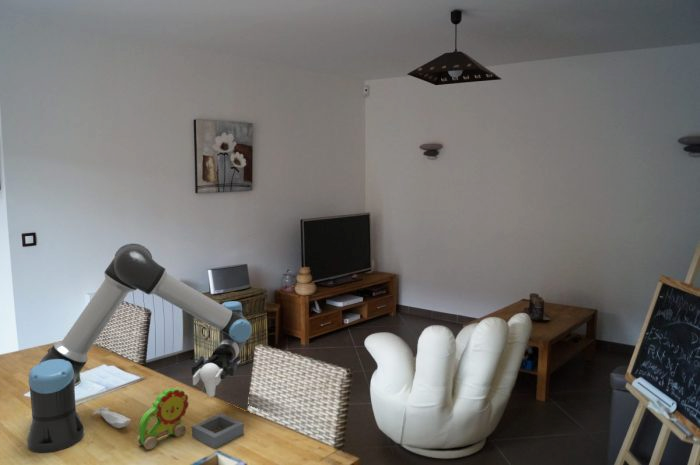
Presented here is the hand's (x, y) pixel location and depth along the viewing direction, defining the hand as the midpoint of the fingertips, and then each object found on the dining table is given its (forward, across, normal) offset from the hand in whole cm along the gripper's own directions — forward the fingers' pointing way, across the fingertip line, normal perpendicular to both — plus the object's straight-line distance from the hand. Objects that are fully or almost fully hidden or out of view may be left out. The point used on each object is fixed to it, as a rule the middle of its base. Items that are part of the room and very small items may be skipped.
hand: (205, 380), depth 163 cm
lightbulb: (-5, 0, -8) cm, 9 cm away
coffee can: (-38, +66, -18) cm, 79 cm away
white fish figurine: (-7, +33, -18) cm, 38 cm away
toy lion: (+1, +12, -18) cm, 22 cm away
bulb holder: (-1, -3, -18) cm, 18 cm away
